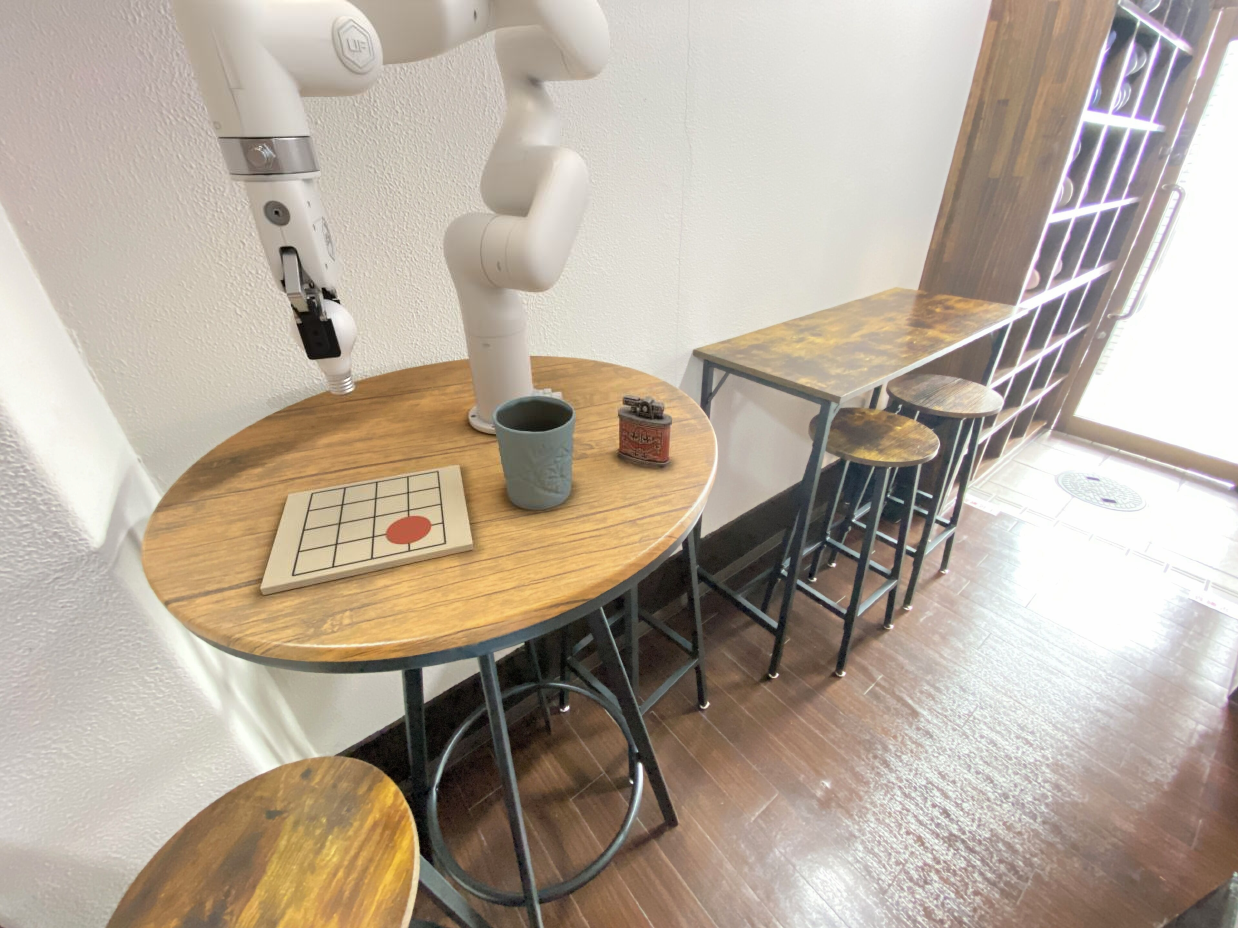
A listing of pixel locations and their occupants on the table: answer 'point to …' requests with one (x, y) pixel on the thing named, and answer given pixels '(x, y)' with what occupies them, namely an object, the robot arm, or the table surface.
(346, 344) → the lightbulb
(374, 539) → the board
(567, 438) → the grey green cup
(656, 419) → the lighter
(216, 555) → the table surface
